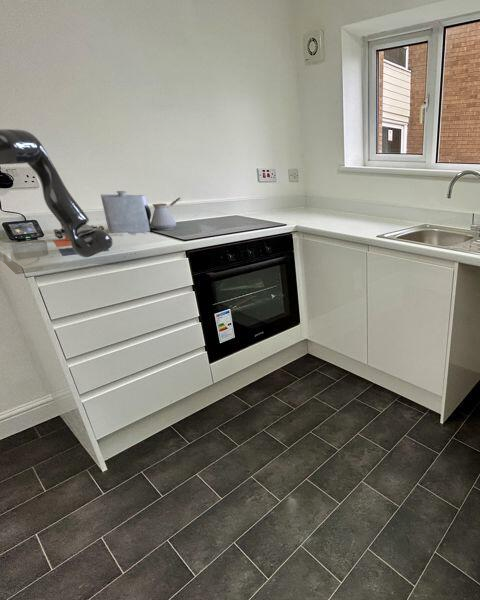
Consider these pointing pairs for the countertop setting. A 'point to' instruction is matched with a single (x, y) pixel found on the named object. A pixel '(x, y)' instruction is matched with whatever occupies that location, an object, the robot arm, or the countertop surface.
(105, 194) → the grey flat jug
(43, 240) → the countertop surface
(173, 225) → the coffee pot
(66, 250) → the grey mat
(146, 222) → the hip flask
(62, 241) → the terracotta mat
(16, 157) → the robot arm
